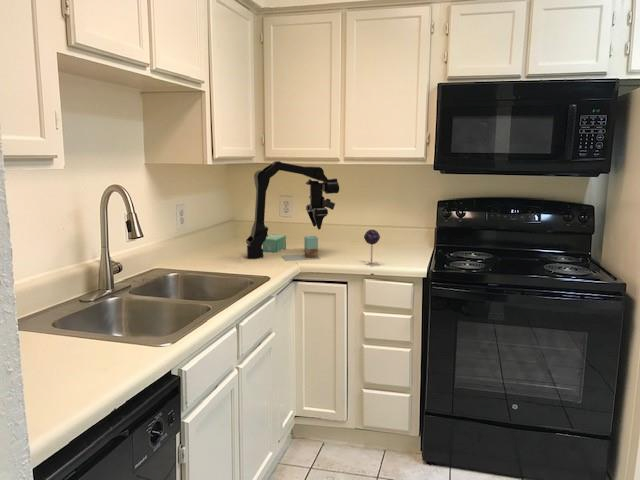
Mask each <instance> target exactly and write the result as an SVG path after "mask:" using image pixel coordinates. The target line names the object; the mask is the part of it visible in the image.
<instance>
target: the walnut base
mask: <svg viewBox="0 0 640 480" xmlns="http://www.w3.org/2000/svg"><path fill="white" fill-rule="evenodd" d="M304 254H305V257H306V258H318V257H319V248H318V249H306V248H305V247H304Z"/></svg>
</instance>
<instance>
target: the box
mask: <svg viewBox="0 0 640 480" xmlns="http://www.w3.org/2000/svg"><path fill="white" fill-rule="evenodd" d="M262 249H263V253H279V252H281V251H282V250H287V235H286V234H271V235H268V237H267V236H266V240H265V241H264V242H263V244H262Z"/></svg>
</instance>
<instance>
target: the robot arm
mask: <svg viewBox="0 0 640 480" xmlns="http://www.w3.org/2000/svg"><path fill="white" fill-rule="evenodd" d="M279 171H283V172H287V173H294V174H299V175H303V176H305V177H307V178H309V179H308V180H307V181H306V182H305V185H308V186H309V187H310V188H309V196H308V199H309V200H310V201H309V202H310V204H307V205H306V206H305V211H306V213H307V215H308V217H309V219H310V222H311V223H312V224H311V225H312V226H313V228H315V227H316V228H317V230H321V228H322V225H323V220H324V219H325V217H327V216H328V215H329V210H328V209H330V210H333V211H334V208H335V205H336V202H333V201H331V199H330V198H326V199H325V196H324V195H323V193H325V194H326V195H327V194H328V195H330V194H339V192H340V185H339V181H338V179H337V178H330V179H329V178H327V175H325V172H324V170H323V167H321V166H315V165H314V166H307V165H306V166H303V165H297V164H291V163H286V162H281V160H275V161H273V162H272V163H271V164H268V165H267V166H265V167H264V168H263V169H260V170H256V171H255V173H254V174H253V179H254V186H255V193H256V194H255V207H254V222H253V224H252V227H251V232H250V236H248V237H247V239H245V242H246V258H247V259H252V260H255V259H257V260H258V259H262V258H264V252H263V242H264V241H265V240H266V237H268V236H269V235H268V231H269V227H268V226H266V225H265V216H266V215H265V213H266V194H267V190H268V188H269V184H270V180H271V178H272V177H274V175H276V174H277V173H278V172H279ZM327 208H328V209H327Z"/></svg>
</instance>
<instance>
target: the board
mask: <svg viewBox="0 0 640 480" xmlns="http://www.w3.org/2000/svg"><path fill="white" fill-rule="evenodd" d="M280 257H281V258H282V260H284V261H285V262H289V261H292V262H293V261H309V260H310V261H311V260H321V257H319V256H318V258H306V257H305V253H304V254H285V255H284V254H283V255H280Z"/></svg>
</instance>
